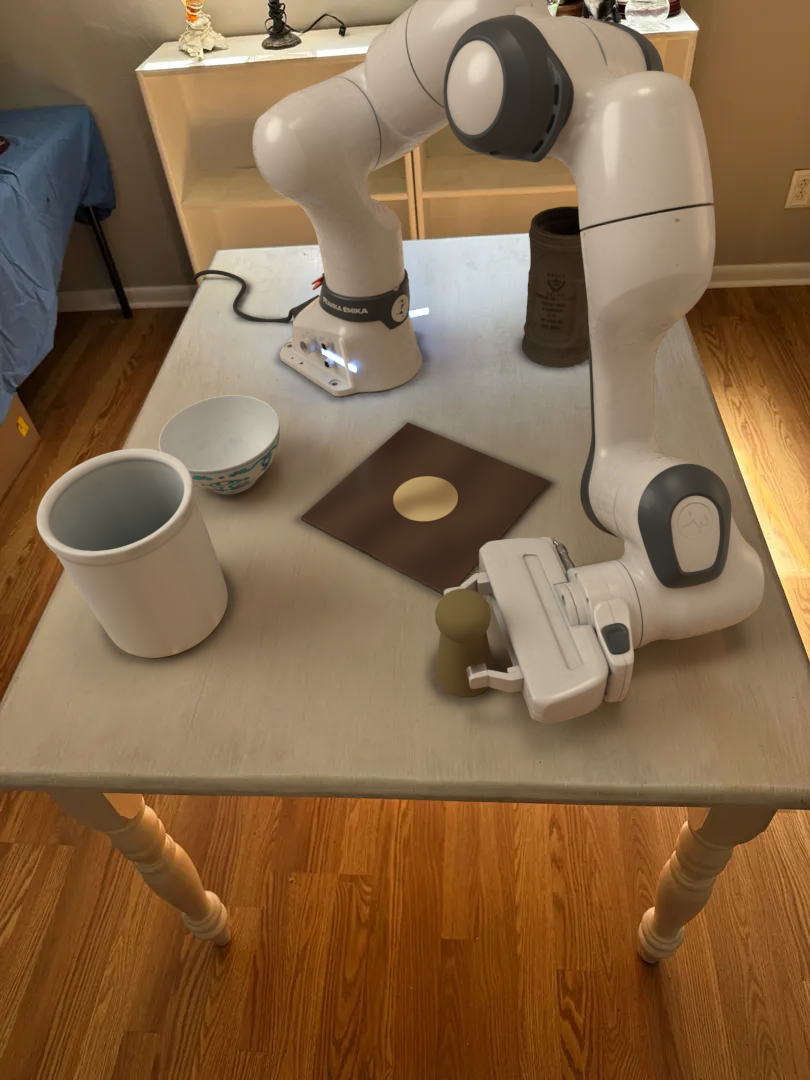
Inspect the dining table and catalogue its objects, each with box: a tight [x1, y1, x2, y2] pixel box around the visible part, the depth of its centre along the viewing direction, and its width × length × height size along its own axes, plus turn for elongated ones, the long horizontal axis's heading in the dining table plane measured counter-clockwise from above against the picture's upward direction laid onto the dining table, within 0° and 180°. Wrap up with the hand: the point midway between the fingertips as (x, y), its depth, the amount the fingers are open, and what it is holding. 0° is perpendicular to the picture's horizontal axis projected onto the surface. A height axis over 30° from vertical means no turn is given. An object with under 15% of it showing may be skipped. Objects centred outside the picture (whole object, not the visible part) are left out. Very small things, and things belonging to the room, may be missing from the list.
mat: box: [300, 422, 550, 596], centre depth 97 cm, size 22×22×1 cm
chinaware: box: [158, 394, 281, 495], centre depth 100 cm, size 15×15×8 cm
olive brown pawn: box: [434, 589, 495, 698], centre depth 75 cm, size 6×6×11 cm
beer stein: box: [521, 205, 589, 368], centre depth 113 cm, size 15×11×20 cm
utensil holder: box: [36, 447, 229, 659], centre depth 82 cm, size 15×15×18 cm
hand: (456, 637), depth 75 cm, fingers open, 8 cm apart
